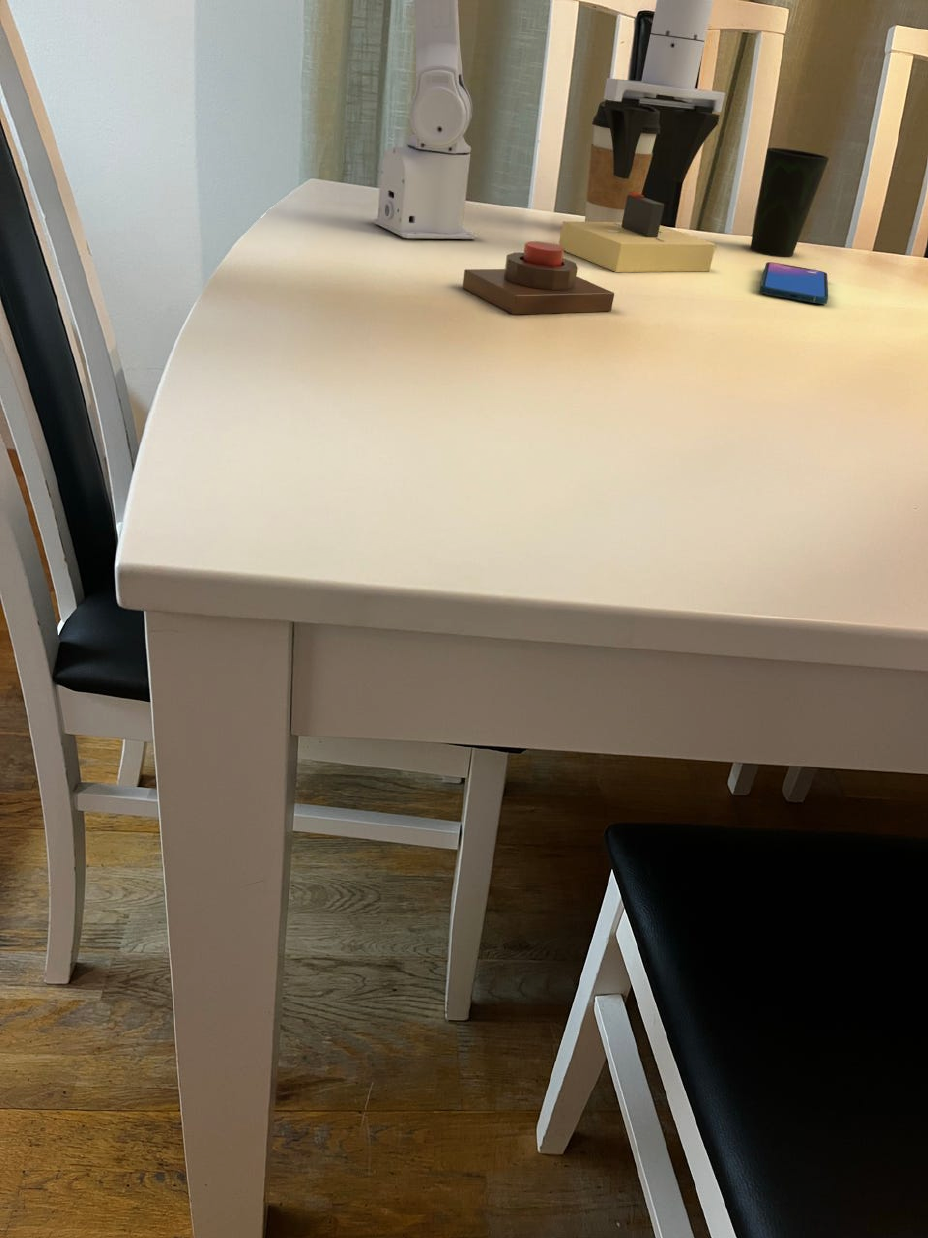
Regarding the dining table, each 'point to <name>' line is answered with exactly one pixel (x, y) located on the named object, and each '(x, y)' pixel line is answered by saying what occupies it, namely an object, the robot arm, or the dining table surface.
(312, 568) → the dining table surface
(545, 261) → the button
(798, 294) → the smartphone
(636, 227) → the dark grey rectangular block
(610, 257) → the panel
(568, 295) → the button block
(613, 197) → the coffee cup
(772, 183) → the cup
